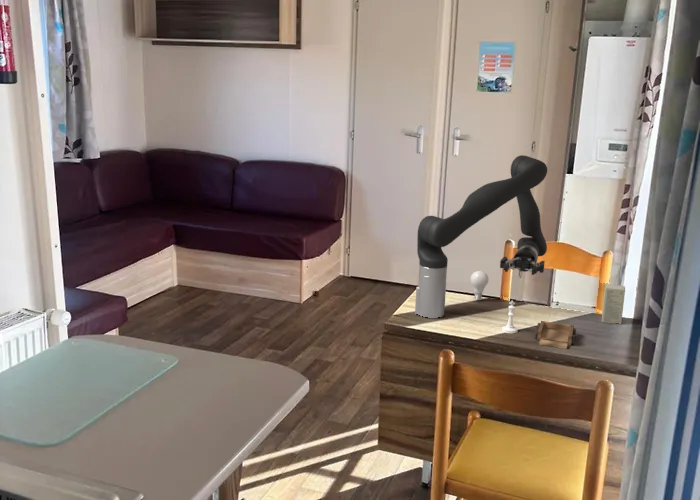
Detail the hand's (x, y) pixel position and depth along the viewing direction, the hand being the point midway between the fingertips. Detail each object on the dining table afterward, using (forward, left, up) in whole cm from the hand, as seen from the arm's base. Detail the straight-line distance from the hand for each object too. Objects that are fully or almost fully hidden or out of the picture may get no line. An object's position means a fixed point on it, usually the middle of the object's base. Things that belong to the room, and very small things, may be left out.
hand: (519, 270), depth 223 cm
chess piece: (0, -11, -17) cm, 20 cm away
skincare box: (+30, +12, -17) cm, 36 cm away
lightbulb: (-15, +14, -17) cm, 27 cm away
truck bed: (+14, -13, -17) cm, 25 cm away
